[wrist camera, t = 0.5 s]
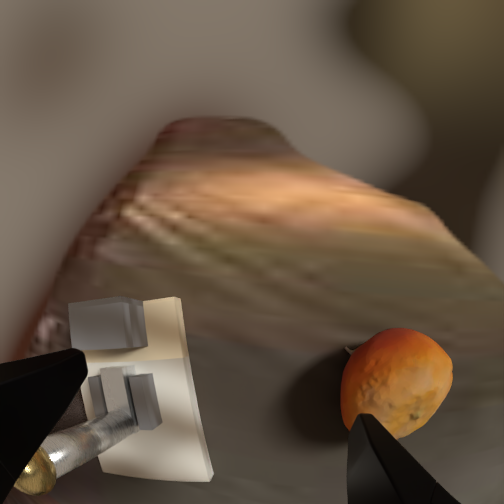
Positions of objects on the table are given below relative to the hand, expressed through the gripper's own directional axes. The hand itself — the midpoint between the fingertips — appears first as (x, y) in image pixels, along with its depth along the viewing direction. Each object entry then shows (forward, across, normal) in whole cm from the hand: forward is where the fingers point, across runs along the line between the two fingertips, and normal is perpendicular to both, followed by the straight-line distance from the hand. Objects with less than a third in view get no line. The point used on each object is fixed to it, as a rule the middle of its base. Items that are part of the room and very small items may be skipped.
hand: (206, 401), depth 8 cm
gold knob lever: (+8, +8, +10) cm, 15 cm away
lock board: (+9, +8, +11) cm, 16 cm away
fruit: (+12, -10, +7) cm, 17 cm away
